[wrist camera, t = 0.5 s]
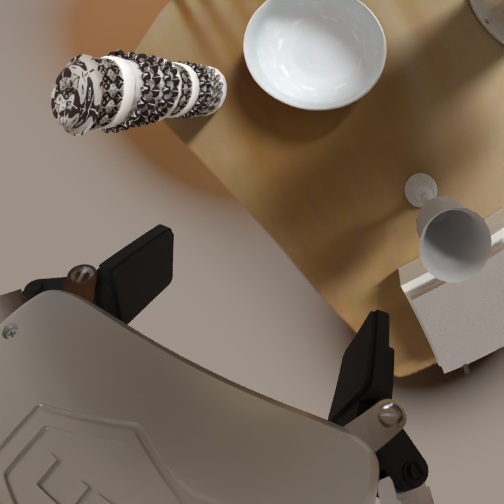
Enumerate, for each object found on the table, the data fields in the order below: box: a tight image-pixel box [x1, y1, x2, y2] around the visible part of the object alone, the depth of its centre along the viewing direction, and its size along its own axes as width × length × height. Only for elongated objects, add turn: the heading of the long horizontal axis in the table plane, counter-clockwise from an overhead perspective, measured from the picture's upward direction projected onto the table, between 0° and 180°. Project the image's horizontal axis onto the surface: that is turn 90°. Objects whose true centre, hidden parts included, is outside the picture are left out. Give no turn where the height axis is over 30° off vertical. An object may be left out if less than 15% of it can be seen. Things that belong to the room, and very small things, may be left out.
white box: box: [410, 243, 504, 374], centre depth 32 cm, size 18×21×6 cm
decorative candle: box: [51, 50, 227, 136], centre depth 28 cm, size 9×9×25 cm
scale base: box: [398, 209, 504, 366], centre depth 33 cm, size 20×21×6 cm
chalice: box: [405, 173, 492, 282], centre depth 26 cm, size 7×7×18 cm
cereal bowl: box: [243, 0, 387, 111], centre depth 27 cm, size 17×17×7 cm
